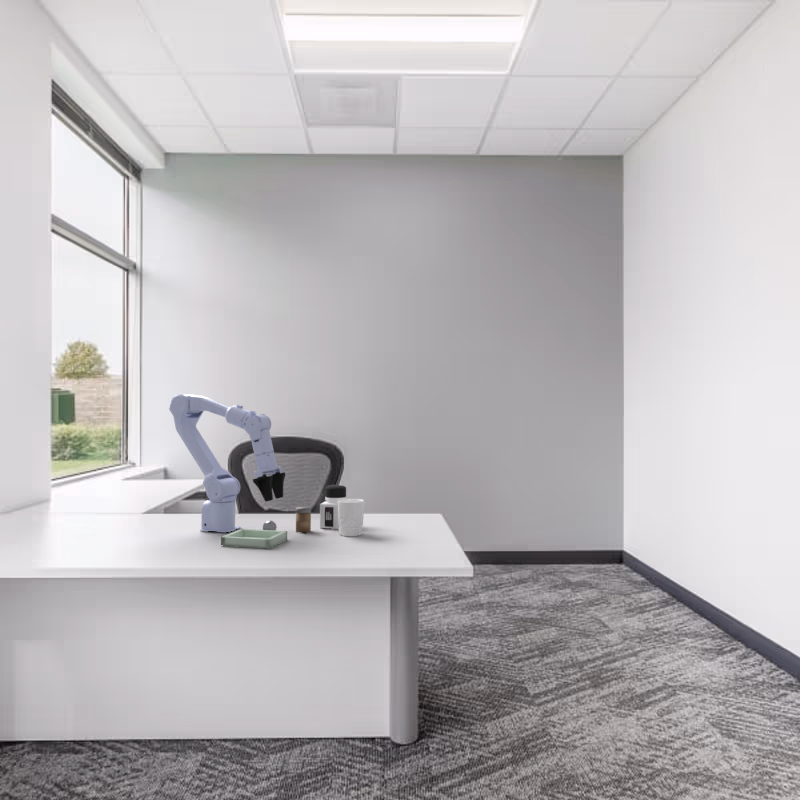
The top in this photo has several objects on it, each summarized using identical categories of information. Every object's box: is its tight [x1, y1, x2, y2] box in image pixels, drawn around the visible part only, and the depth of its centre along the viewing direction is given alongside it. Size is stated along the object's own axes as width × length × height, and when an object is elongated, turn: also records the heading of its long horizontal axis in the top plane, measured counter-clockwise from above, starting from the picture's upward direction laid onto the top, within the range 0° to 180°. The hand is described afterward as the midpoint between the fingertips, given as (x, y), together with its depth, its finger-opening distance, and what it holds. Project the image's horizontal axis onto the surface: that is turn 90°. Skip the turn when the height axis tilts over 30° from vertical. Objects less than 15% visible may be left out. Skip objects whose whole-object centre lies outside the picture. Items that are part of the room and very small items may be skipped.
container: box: [319, 484, 347, 530], centre depth 200 cm, size 8×8×13 cm
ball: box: [262, 520, 277, 531], centre depth 187 cm, size 4×4×4 cm
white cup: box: [338, 498, 365, 537], centre depth 188 cm, size 8×8×10 cm
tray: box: [220, 528, 288, 550], centre depth 175 cm, size 14×12×2 cm
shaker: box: [295, 506, 312, 534], centre depth 192 cm, size 5×5×7 cm
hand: (274, 499), depth 187 cm, fingers open, 7 cm apart
